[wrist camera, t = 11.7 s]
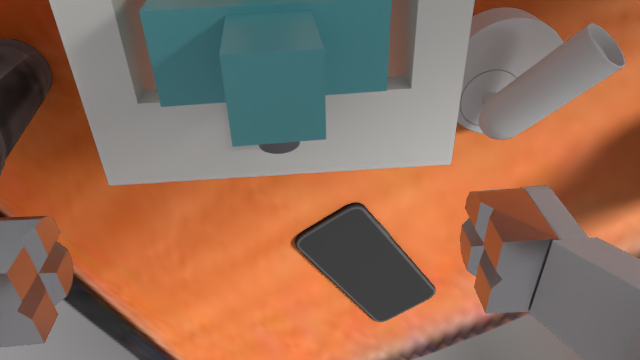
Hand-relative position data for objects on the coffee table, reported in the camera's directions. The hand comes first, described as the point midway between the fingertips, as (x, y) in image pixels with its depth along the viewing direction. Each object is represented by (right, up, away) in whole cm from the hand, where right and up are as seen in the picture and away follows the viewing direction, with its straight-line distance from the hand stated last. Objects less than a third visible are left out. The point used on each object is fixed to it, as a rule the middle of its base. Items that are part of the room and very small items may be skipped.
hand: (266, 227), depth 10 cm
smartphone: (+6, -7, +38) cm, 39 cm away
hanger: (-2, +12, +17) cm, 21 cm away
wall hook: (+14, +10, +26) cm, 32 cm away
